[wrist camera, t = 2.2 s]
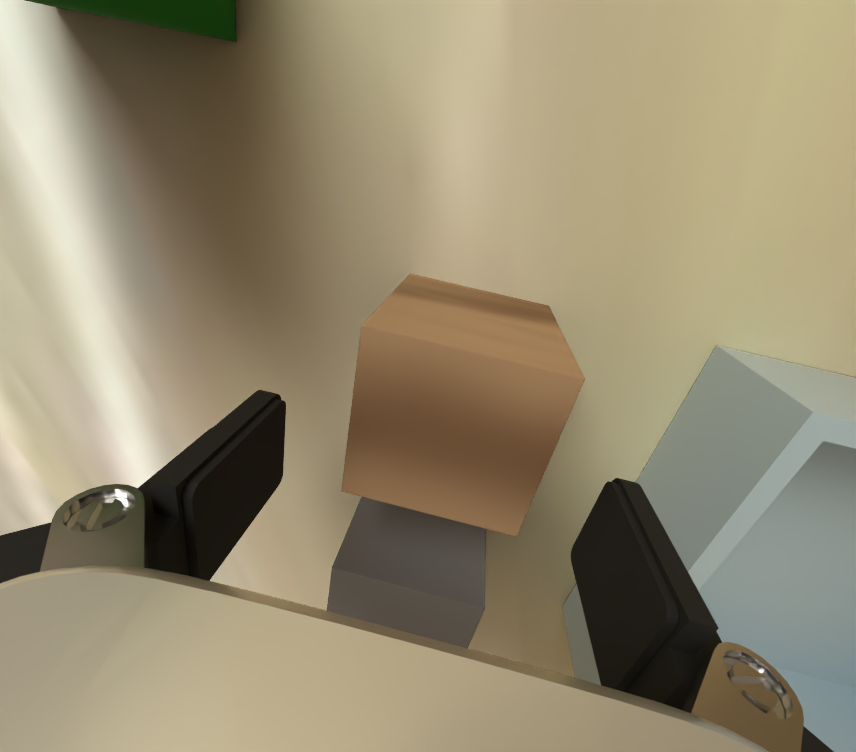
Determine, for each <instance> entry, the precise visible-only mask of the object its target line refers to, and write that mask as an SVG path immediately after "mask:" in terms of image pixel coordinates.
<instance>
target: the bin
mask: <svg viewBox="0 0 856 752" xmlns="http://www.w3.org/2000/svg"><path fill="white" fill-rule="evenodd" d="M636 483H638V484H640V486H641V487H642V489H643V491H644V493H645V494H646V496H647V498H648V500H649V502H650V504H651V505H652V507H653V509H654V511H655V513H656V514H657V516H658V518H659V520H660V522H661V524H662V525H663V527H664V529H665V531H666V533H667V535H668V536H669V538H670V540H671V542H672V544H673V546H674V547H675V549H676V551H677V553H678V555H679V556H680V558H681V560H682V562H683V564H684V566H685V567H686V569H687V571H688V573H689V575H690V577H691V578H692V580H693V582H694V584H695V586H696V587H697V589H698V591H699V593H700V595H701V597H702V598H703V600H704V602H705V604H706V606H707V608H708V609H709V611H710V613H711V615H712V617H713V619H714V620H715V622H716V624H717V626H718V628H719V629H718V630H717V633H718V635H719V637H720V639H721V641H722V643H724V642H731V643H736V644H739V645H741V646H743V647H746V648H748V649H750V650H751V651H753V652H755V653H756V654H758V655H759V656H761V657H762V658H763V659H765V660H766V661H767V662H768V663H769V664H770V665H772V666H773V667H774V668H775V669H776V670H777V671H778V672H779V673H780V674H781V675H782V677H783V678H784V679H785V680H786V681H787V682H788V684H789V685H790V687H791V688H792V689H793V691H794V692H795V694H796V695H797V697H798V700H799V702H800V704H801V706H802V708H803V716H804V724H803V726H804V727H806V728H807V729H808V730H809V731H810V732H811V733H813V734H814V735H815V736H816V737H817V738H818V739H820V740H821V741H822V742H823V743H824V744H825V745H827V746H828V747H829V748H830V749H831V750H833V751H834V752H856V378H855V377H851V376H846V375H842V374H838V373H833V372H829V371H825V370H821V369H816V368H812V367H808V366H803V365H799V364H795V363H791V362H786V361H782V360H778V359H773V358H769V357H765V356H760V355H756V354H752V353H748V352H743V351H739V350H735V349H730V348H726V347H722V346H716V348H715V349H714V351H713V353H712V354H711V356H710V358H709V359H708V361H707V363H706V364H705V366H704V368H703V370H702V371H701V373H700V375H699V376H698V378H697V380H696V381H695V383H694V385H693V387H692V388H691V390H690V392H689V393H688V395H687V397H686V398H685V400H684V402H683V403H682V405H681V407H680V409H679V410H678V412H677V414H676V415H675V417H674V419H673V420H672V422H671V424H670V426H669V427H668V429H667V431H666V432H665V434H664V436H663V437H662V439H661V441H660V442H659V444H658V446H657V448H656V449H655V451H654V453H653V454H652V456H651V458H650V459H649V461H648V463H647V465H646V466H645V468H644V470H643V471H642V473H641V475H640V476H639V478H638V480H637V481H636ZM563 612H564V618H565V623H566V629H567V635H568V641H569V647H570V652H571V658H572V664H573V670H574V676H575V678H577V679H581V680H584V681H588V682H591V683H595V684H598V685H601V683H600V679H599V674H598V670H597V666H596V662H595V658H594V654H593V649H592V645H591V641H590V637H589V633H588V629H587V624H586V620H585V616H584V612H583V608H582V604H581V599H580V595H579V591H578V587H577V583H576V585H575V587H574V588H573V590H572V592H571V593H570V595H569V597H568V599H567V600H566V602H565V604H564V605H563Z"/></svg>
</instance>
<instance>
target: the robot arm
mask: <svg viewBox="0 0 856 752" xmlns="http://www.w3.org/2000/svg"><path fill="white" fill-rule="evenodd" d="M285 414H286V403H285V401H282V400H281V397H280V395H279V394H275V393H271V392H267V391H263V390H258V391H256V392H255V393H254V394H253V395H252V396H250V397H249V398H248V399H247V400H246V401H244V402H243V403H242V404H241V405H239V406H238V407H237V408H236V409H235V410H233V411H232V412H231V413H230V414H229V415H227V416H226V417H225V418H224V419H223V420H221V421H220V422H219V423H218V424H217V425H215V426H214V427H213V428H211V429H209V430H208V431H207V432H205V433H204V434H203V435H202V436H201V437H199V438H198V439H197V440H196V441H195V442H193V443H192V444H191V445H190V446H188V447H187V448H186V449H185V450H184V451H182V452H181V453H180V454H179V455H178V456H176V457H175V458H174V459H173V460H172V461H170V462H169V463H168V464H167V465H165V466H164V467H163V468H162V469H161V470H159V471H158V472H157V473H156V474H155V475H153V476H152V477H151V478H150V479H149V480H147V481H146V482H145V483H144V484H142V485H141V486H140V487H139V488H138V489H137V488H135V487H132V486H129V485H121V484H113V485H104V486H100V487H96V488H92V489H89V490H87V491H84V492H82V493H80V494H77V495H76V496H74V497H73V498H71V499H69V500H68V501H66V502H65V503H64V504H63V505H62V506H61V507H60V508H59V509H58V510H57V511H56V513H55V515H54V517H53V519H52V522H51V523H47V524H44V525H40V526H36V527H32V528H28V529H24V530H20V531H17V532H13V533H9V534H5V535H1V536H0V752H834V751H833V750H831V749H830V748H829V747H828V746H827V745H825V744H824V743H823V742H822V741H821V740H820V739H818V738H817V737H816V736H815V735H814V734H813V733H811V732H810V731H809V730H808V729H807V728H806V727H804V726H803V724H804V716H803V708H802V706H801V704H800V702H799V700H798V697H797V695H796V694H795V692H794V691H793V689H792V688H791V687H790V685H789V684H788V682H787V681H786V680H785V679H784V678H783V677H782V675H781V674H780V673H779V672H778V671H777V670H776V669H775V668H774V667H773V666H772V665H770V664H769V663H768V662H767V661H766V660H765V659H763V658H762V657H761V656H759V655H758V654H756V653H755V652H753V651H751V650H750V649H748V648H746V647H743V646H741V645H739V644H736V643H731V642H724V643H722V641H721V639H720V637H719V635H718V633H717V630H718V629H719V628H718V626H717V624H716V622H715V620H714V619H713V617H712V615H711V613H710V611H709V609H708V608H707V606H706V604H705V602H704V600H703V598H702V597H701V595H700V593H699V591H698V589H697V587H696V586H695V584H694V582H693V580H692V578H691V577H690V575H689V573H688V571H687V569H686V567H685V566H684V564H683V562H682V560H681V558H680V556H679V555H678V553H677V551H676V549H675V547H674V546H673V544H672V542H671V540H670V538H669V536H668V535H667V533H666V531H665V529H664V527H663V525H662V524H661V522H660V520H659V518H658V516H657V514H656V513H655V511H654V509H653V507H652V505H651V504H650V502H649V500H648V498H647V496H646V494H645V493H644V491H643V489H642V487H641V486H640V484H638V483H635V482H631V481H627V480H623V479H619V478H616V479H614V480H613V481H612V482H607V483H606V484H605V486H604V487H603V489H602V491H601V493H600V495H599V497H598V499H597V501H596V503H595V505H594V507H593V509H592V511H591V513H590V514H589V516H588V518H587V520H586V522H585V524H584V526H583V528H582V530H581V532H580V534H579V536H578V538H577V539H576V541H575V543H574V545H573V548H572V551H571V562H572V566H573V570H574V574H575V579H576V583H577V587H578V591H579V595H580V599H581V604H582V608H583V612H584V616H585V620H586V624H587V629H588V633H589V637H590V641H591V645H592V649H593V654H594V658H595V662H596V666H597V670H598V674H599V679H600V683H601V685H598V684H595V683H591V682H588V681H584V680H581V679H577V678H573V677H570V676H566V675H563V674H559V673H555V672H552V671H548V670H544V669H541V668H537V667H533V666H530V665H526V664H522V663H519V662H515V661H512V660H508V659H504V658H501V657H497V656H493V655H490V654H486V653H482V652H479V651H475V650H471V649H467V648H464V647H460V646H456V645H453V644H449V643H445V642H441V641H438V640H434V639H430V638H427V637H423V636H419V635H415V634H412V633H408V632H404V631H400V630H397V629H393V628H389V627H385V626H382V625H378V624H374V623H371V622H367V621H363V620H359V619H356V618H352V617H348V616H344V615H340V614H336V613H333V612H329V611H325V610H321V609H317V608H314V607H310V606H306V605H302V604H298V603H294V602H291V601H287V600H283V599H279V598H275V597H272V596H268V595H264V594H260V593H256V592H252V591H248V590H244V589H240V588H236V587H232V586H228V585H224V584H220V583H215V582H211V581H209V580H210V579H211V578H212V576H213V575H214V574H215V572H216V571H217V569H218V568H219V567H220V565H221V564H222V563H223V561H224V560H225V558H226V557H227V556H228V554H229V553H230V552H231V550H232V549H233V547H234V546H235V545H236V543H237V542H238V541H239V539H240V538H241V536H242V535H243V534H244V532H245V531H246V530H247V528H248V527H249V525H250V524H251V523H252V521H253V520H254V519H255V517H256V516H257V514H258V513H259V512H260V510H261V509H262V508H263V506H264V505H265V503H266V502H267V501H268V499H269V498H270V497H271V495H272V494H273V492H274V491H275V490H276V488H277V487H278V485H279V484H280V482H281V479H282V476H283V461H284V437H285Z"/></svg>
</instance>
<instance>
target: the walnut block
mask: <svg viewBox="0 0 856 752" xmlns="http://www.w3.org/2000/svg"><path fill="white" fill-rule="evenodd" d="M584 380H585V378H584V376H583V374H582V372H581V370H580V368H579V366H578V364H577V362H576V360H575V358H574V356H573V354H572V352H571V350H570V348H569V346H568V344H567V342H566V340H565V338H564V336H563V334H562V332H561V330H560V328H559V325H558V323H557V321H556V319H555V317H554V315H553V313H552V311H551V309H550V307H549V306H547V305H543V304H538V303H534V302H530V301H525V300H521V299H517V298H513V297H508V296H504V295H500V294H495V293H491V292H487V291H482V290H478V289H474V288H469V287H465V286H461V285H457V284H452V283H448V282H444V281H439V280H435V279H431V278H426V277H422V276H418V275H413V274H410V275H409V276H408V277H407V278H406V279H405V280H404V281H403V282H402V283H401V284H400V285H399V286H398V287H397V288H396V289H395V290H394V292H393V293H392V294H391V295H390V296H389V297H388V298H387V299H386V300H385V301H384V302H383V303H382V304H381V305H380V306H379V307H378V308H377V310H376V311H375V312H374V313H373V314H372V315H371V316H370V317H369V318H368V319H367V320H366V321H365V322H364V323H363V324H362V325H361V333H360V342H359V350H358V358H357V366H356V375H355V383H354V391H353V400H352V408H351V416H350V424H349V433H348V441H347V449H346V458H345V466H344V474H343V482H342V491H343V492H347V493H350V494H354V495H358V496H362V497H366V498H370V499H374V500H377V501H381V502H385V503H389V504H393V505H397V506H401V507H404V508H408V509H412V510H416V511H420V512H424V513H428V514H431V515H435V516H439V517H443V518H447V519H451V520H455V521H458V522H462V523H466V524H470V525H474V526H478V527H482V528H485V529H489V530H493V531H497V532H501V533H505V534H509V535H512V536H517V534H518V531H519V529H520V527H521V525H522V522H523V520H524V518H525V515H526V513H527V511H528V509H529V506H530V504H531V502H532V499H533V497H534V495H535V493H536V490H537V488H538V486H539V483H540V481H541V479H542V476H543V474H544V472H545V470H546V467H547V465H548V463H549V460H550V458H551V456H552V454H553V451H554V449H555V447H556V444H557V442H558V440H559V437H560V435H561V433H562V431H563V428H564V426H565V424H566V421H567V419H568V417H569V415H570V412H571V410H572V408H573V405H574V403H575V401H576V399H577V396H578V394H579V392H580V389H581V387H582V385H583V382H584Z"/></svg>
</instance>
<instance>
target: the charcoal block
mask: <svg viewBox="0 0 856 752" xmlns="http://www.w3.org/2000/svg"><path fill="white" fill-rule="evenodd" d="M485 558H486V529H485V528H482V527H478V526H474V525H470V524H466V523H462V522H458V521H455V520H451V519H447V518H443V517H439V516H435V515H431V514H428V513H424V512H420V511H416V510H412V509H408V508H404V507H401V506H397V505H393V504H389V503H385V502H381V501H377V500H374V499H370V498H366V497H361V500H360V502H359V504H358V507H357V509H356V512H355V514H354V516H353V519H352V521H351V523H350V526H349V528H348V531H347V533H346V535H345V538H344V540H343V543H342V545H341V547H340V550H339V552H338V554H337V557H336V559H335V562H334V564H333V566H332V572H331V580H330V589H329V597H328V605H327V611H329V612H333V613H336V614H340V615H344V616H348V617H352V618H356V619H359V620H363V621H367V622H371V623H374V624H378V625H382V626H385V627H389V628H393V629H397V630H400V631H404V632H408V633H412V634H415V635H419V636H423V637H427V638H430V639H434V640H438V641H441V642H445V643H449V644H453V645H456V646H460V647H464V648H468V646H469V644H470V641H471V639H472V637H473V635H474V632H475V630H476V628H477V625H478V623H479V621H480V618H481V616H482V614H483V612H484V609H485Z"/></svg>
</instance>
